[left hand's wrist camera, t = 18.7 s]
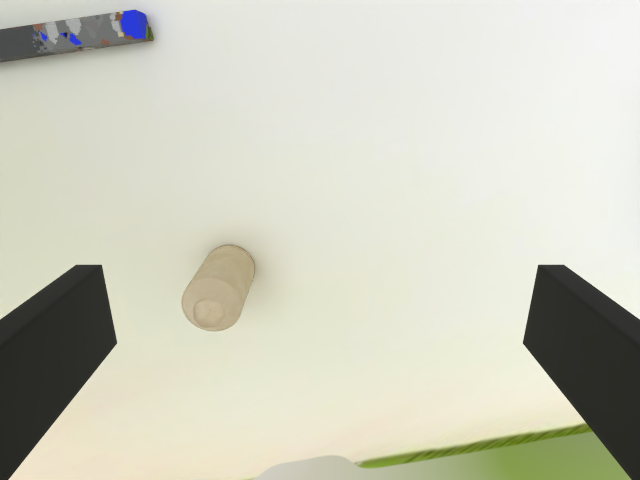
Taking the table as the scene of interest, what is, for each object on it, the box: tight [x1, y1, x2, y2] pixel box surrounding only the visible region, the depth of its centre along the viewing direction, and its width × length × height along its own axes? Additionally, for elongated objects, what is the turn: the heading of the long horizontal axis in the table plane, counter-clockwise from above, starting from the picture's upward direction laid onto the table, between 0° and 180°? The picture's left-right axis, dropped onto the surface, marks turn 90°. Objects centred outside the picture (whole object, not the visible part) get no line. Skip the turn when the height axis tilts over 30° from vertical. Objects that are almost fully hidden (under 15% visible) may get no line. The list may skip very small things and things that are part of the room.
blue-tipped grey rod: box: [0, 10, 153, 62], centre depth 37 cm, size 2×2×20 cm
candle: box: [182, 245, 255, 331], centre depth 41 cm, size 6×6×10 cm
